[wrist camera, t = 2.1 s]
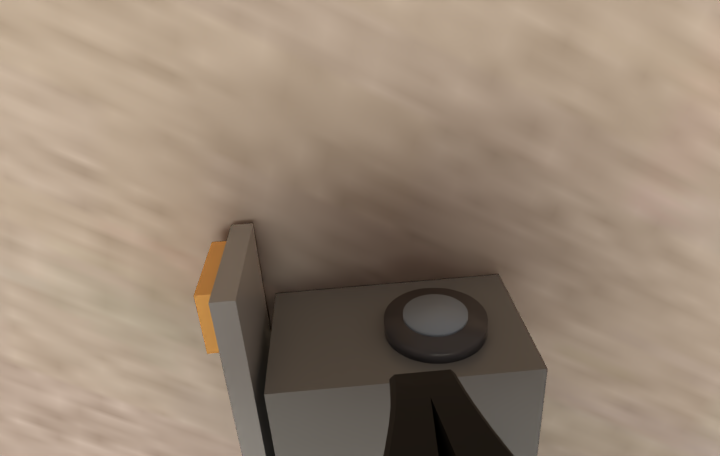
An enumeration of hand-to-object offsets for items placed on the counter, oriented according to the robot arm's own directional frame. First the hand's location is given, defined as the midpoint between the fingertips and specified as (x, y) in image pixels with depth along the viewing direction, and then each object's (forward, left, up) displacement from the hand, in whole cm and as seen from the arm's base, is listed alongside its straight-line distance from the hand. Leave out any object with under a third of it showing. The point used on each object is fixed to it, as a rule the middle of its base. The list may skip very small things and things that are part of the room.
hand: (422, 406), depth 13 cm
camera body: (-7, 0, -8) cm, 11 cm away
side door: (-6, +5, -8) cm, 11 cm away
